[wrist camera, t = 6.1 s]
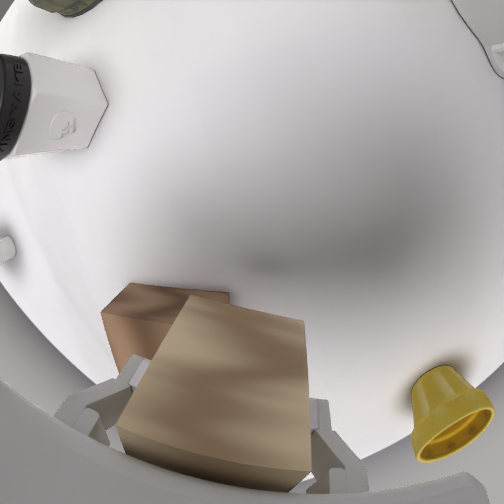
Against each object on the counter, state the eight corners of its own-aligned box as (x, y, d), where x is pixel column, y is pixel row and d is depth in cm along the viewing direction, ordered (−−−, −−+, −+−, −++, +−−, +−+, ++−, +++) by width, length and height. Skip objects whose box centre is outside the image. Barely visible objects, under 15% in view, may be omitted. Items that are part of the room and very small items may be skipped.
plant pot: (391, 377, 27) (415, 443, 18) (464, 339, 24) (502, 392, 15) (401, 418, 30) (417, 471, 20) (463, 386, 27) (488, 433, 18)
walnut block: (229, 291, 25) (216, 329, 19) (231, 403, 31) (223, 441, 25) (131, 281, 26) (100, 312, 20) (155, 390, 31) (139, 424, 26)
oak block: (303, 321, 12) (311, 471, 5) (274, 392, 13) (263, 511, 7) (190, 294, 12) (115, 424, 5) (183, 371, 14) (137, 481, 7)
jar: (81, 169, 22) (-19, 193, 11) (38, 137, 21) (-50, 148, 10) (122, 83, 19) (23, 56, 8) (72, 60, 18) (-16, 41, 7)
